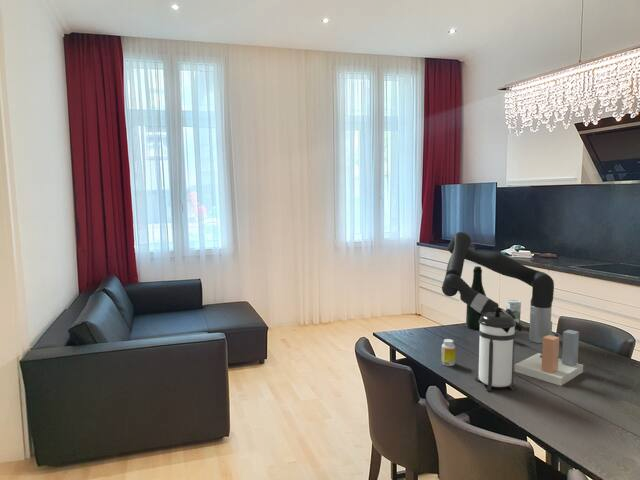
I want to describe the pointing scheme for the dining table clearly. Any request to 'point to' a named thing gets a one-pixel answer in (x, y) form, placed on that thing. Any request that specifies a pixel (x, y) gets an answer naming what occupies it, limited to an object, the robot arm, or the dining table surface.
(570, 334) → the slate slider
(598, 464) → the dining table surface
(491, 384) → the coffee press
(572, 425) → the dining table surface
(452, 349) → the supplement bottle
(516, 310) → the syrup box
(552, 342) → the terracotta slider
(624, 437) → the dining table surface
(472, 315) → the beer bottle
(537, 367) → the control board
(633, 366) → the dining table surface
